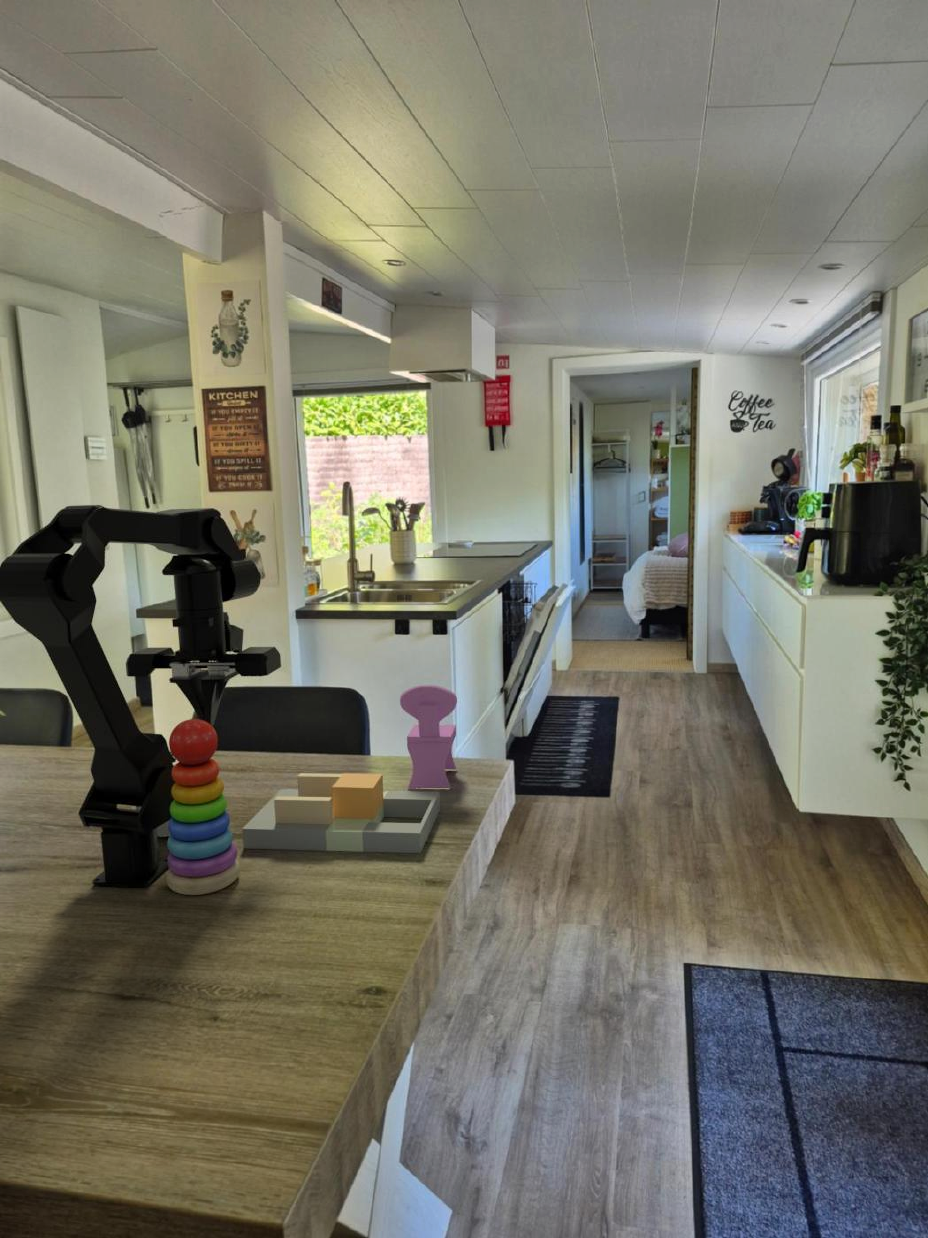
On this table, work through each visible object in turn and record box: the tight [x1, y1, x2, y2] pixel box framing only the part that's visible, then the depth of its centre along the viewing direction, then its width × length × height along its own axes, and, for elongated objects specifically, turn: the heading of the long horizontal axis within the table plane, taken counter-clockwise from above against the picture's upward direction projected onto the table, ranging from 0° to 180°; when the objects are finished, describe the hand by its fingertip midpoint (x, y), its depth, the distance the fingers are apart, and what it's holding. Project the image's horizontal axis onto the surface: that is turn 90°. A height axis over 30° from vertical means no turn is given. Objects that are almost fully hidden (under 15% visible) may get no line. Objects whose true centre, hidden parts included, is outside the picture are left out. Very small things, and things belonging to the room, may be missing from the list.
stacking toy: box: [165, 718, 241, 896], centre depth 95 cm, size 8×8×19 cm
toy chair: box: [399, 684, 458, 790], centre depth 127 cm, size 8×9×15 cm
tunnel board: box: [241, 772, 441, 854], centre depth 110 cm, size 14×22×6 cm, turn 82°
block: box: [332, 772, 384, 819], centre depth 110 cm, size 5×5×4 cm
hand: (209, 726), depth 112 cm, fingers closed
